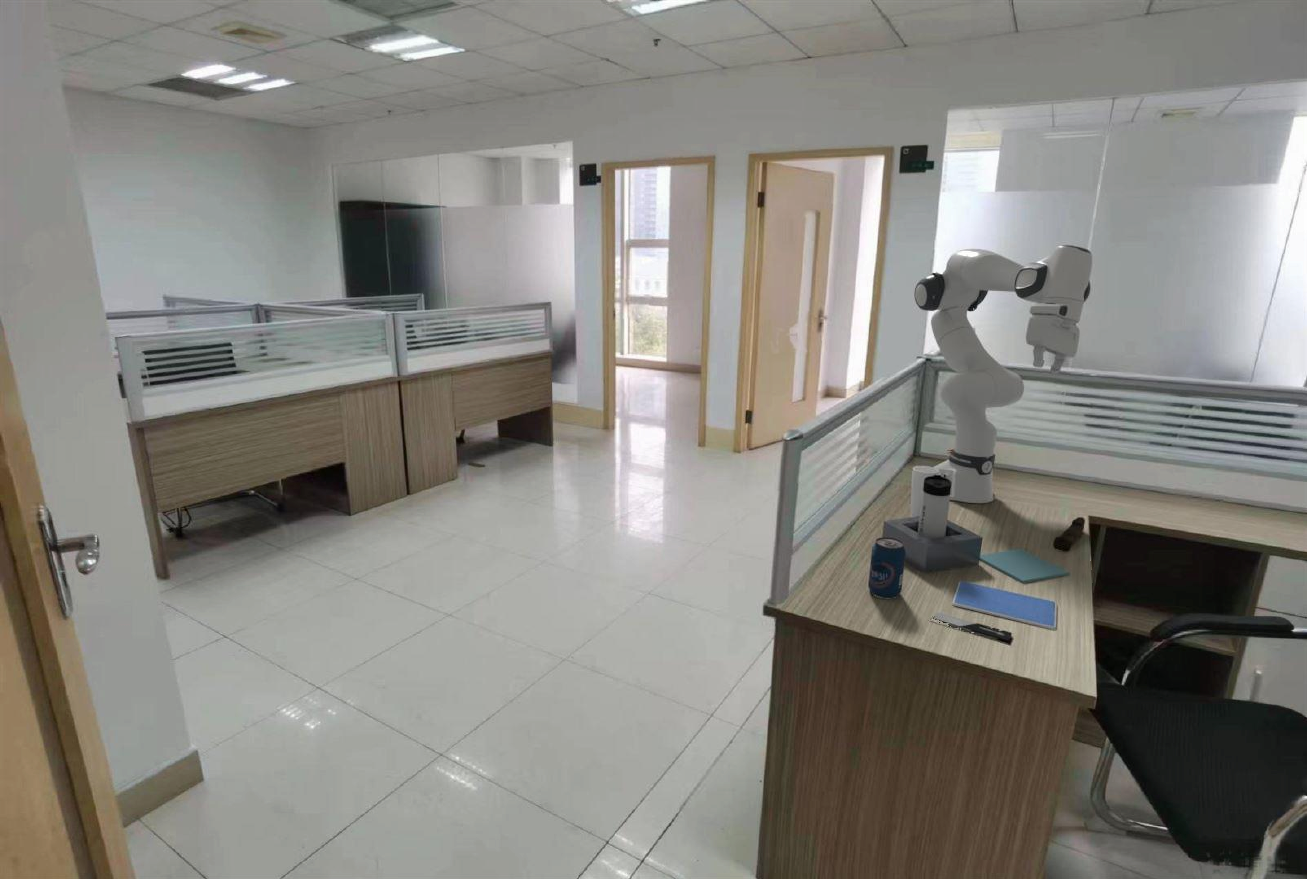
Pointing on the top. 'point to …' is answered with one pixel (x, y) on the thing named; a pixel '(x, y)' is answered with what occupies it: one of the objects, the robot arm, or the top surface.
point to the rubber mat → (1022, 565)
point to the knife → (976, 628)
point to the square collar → (935, 545)
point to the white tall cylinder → (919, 486)
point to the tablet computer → (1006, 604)
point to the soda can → (887, 567)
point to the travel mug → (934, 507)
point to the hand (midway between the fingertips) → (1046, 370)
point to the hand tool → (1069, 535)
